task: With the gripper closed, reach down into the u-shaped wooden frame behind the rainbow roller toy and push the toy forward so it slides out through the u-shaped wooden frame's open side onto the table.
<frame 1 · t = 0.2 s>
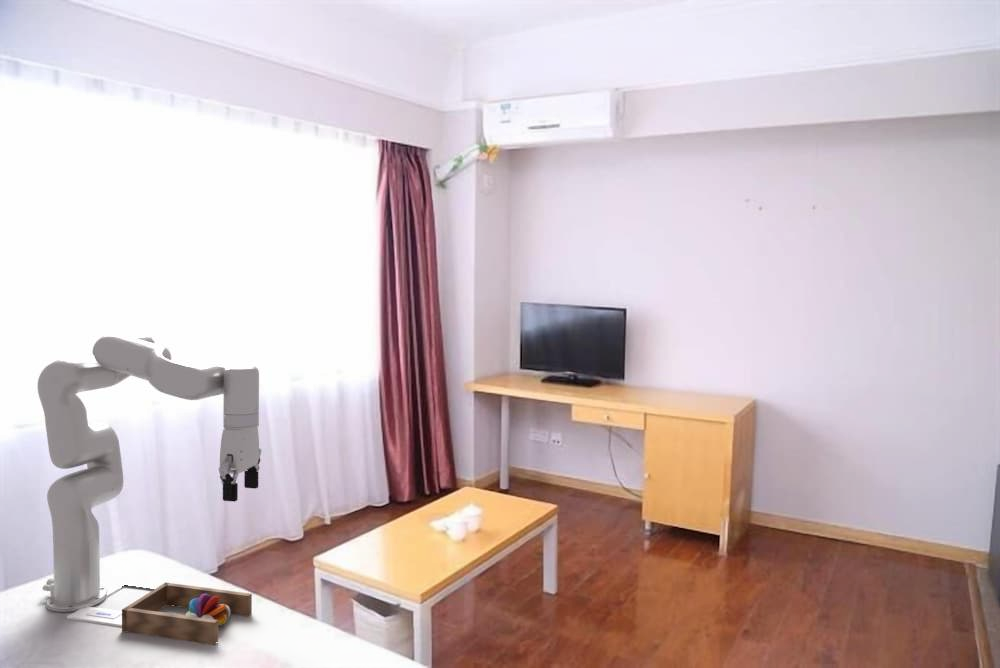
hand: (241, 494, 154), 31 cm above the table, fingers open, 9 cm apart
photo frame: (123, 607, 164), on the table
u-shaped wooden frame: (191, 622, 156), on the table
rainbow roller toy: (206, 626, 156), on the table
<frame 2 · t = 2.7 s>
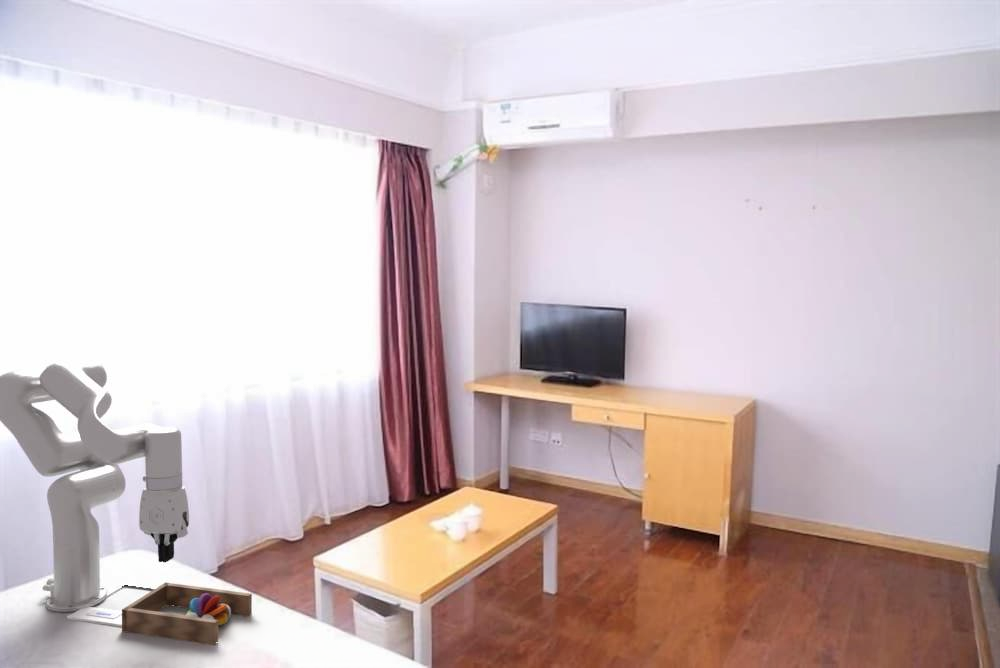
hand: (166, 559, 156), 14 cm above the table, fingers closed
nothing on the table moved.
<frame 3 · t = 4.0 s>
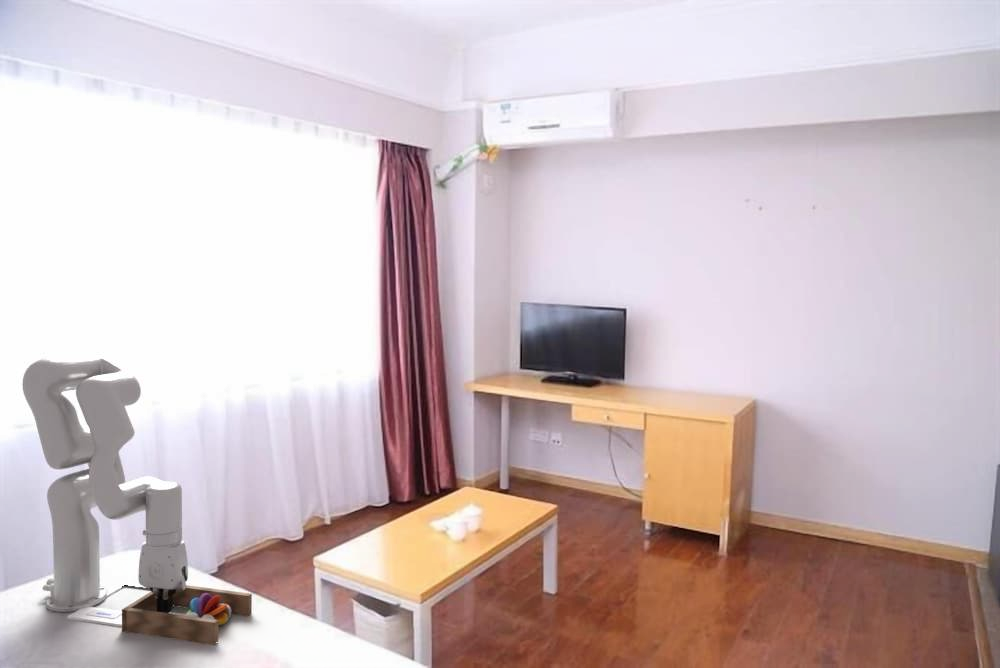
hand: (164, 613, 158), 1 cm above the table, fingers closed
nothing on the table moved.
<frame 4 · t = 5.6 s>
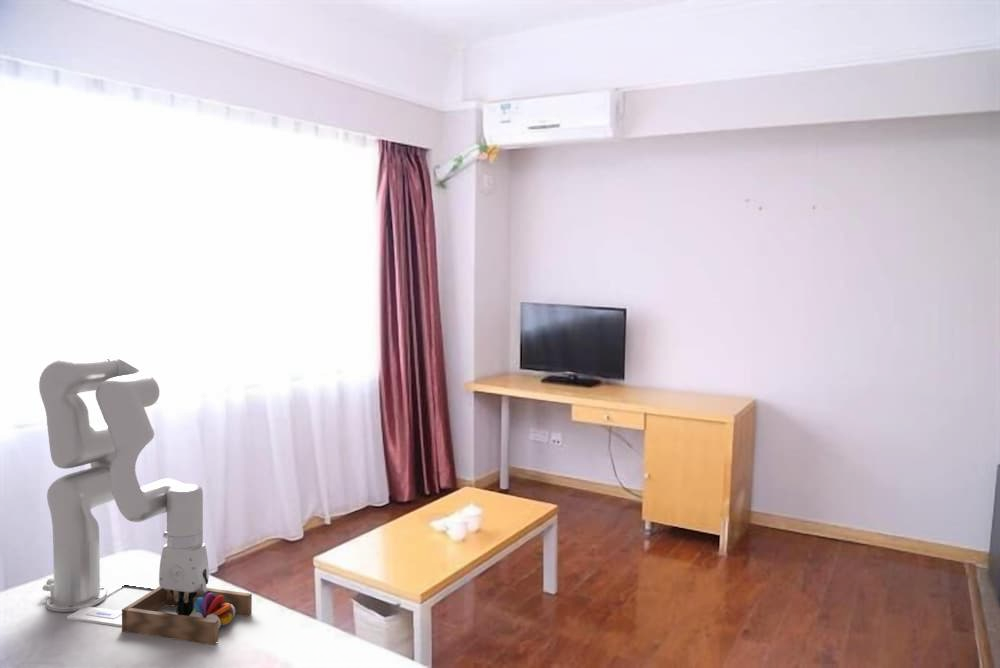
hand: (185, 616, 157), 1 cm above the table, fingers closed
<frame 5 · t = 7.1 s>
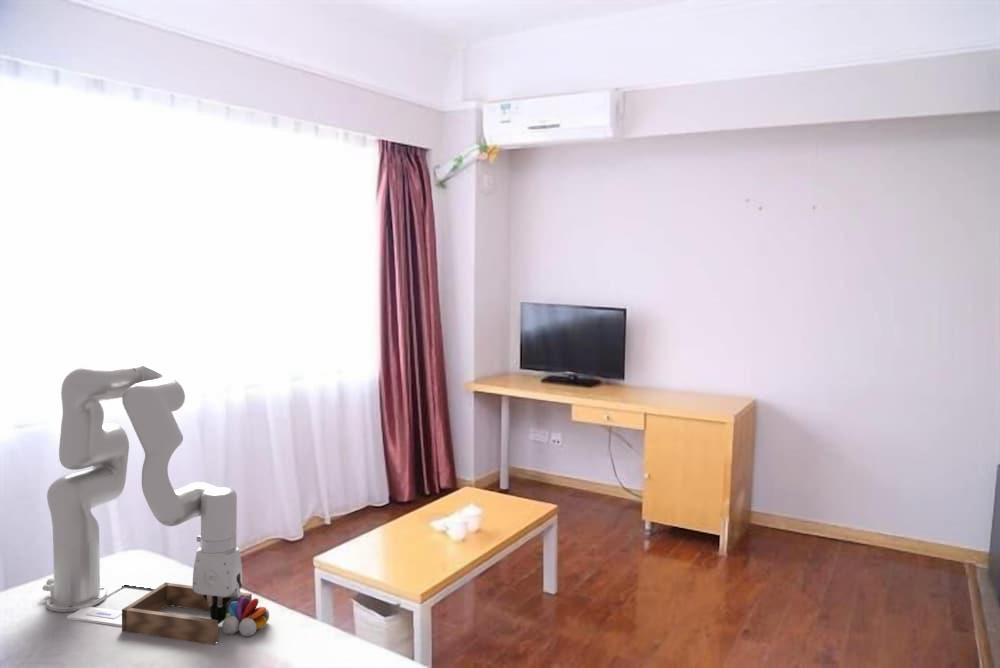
hand: (218, 621, 155), 1 cm above the table, fingers closed
rainbow roller toy: (245, 629, 154), on the table, touching gripper
everything else where it was.
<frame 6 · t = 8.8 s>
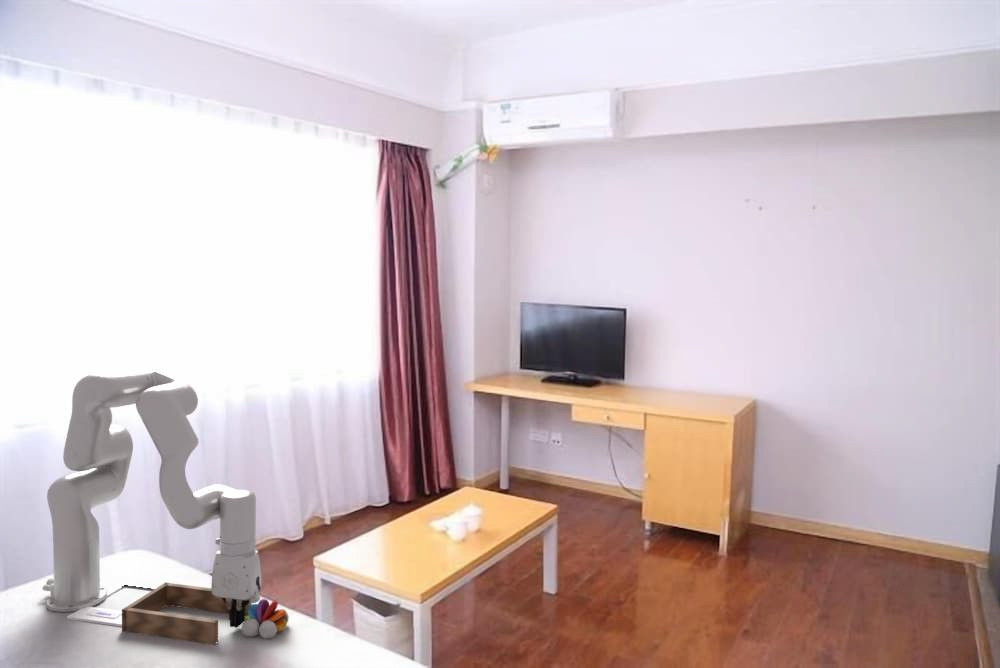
hand: (237, 624, 154), 1 cm above the table, fingers closed
rainbow roller toy: (265, 632, 154), on the table, touching gripper
everything else where it was.
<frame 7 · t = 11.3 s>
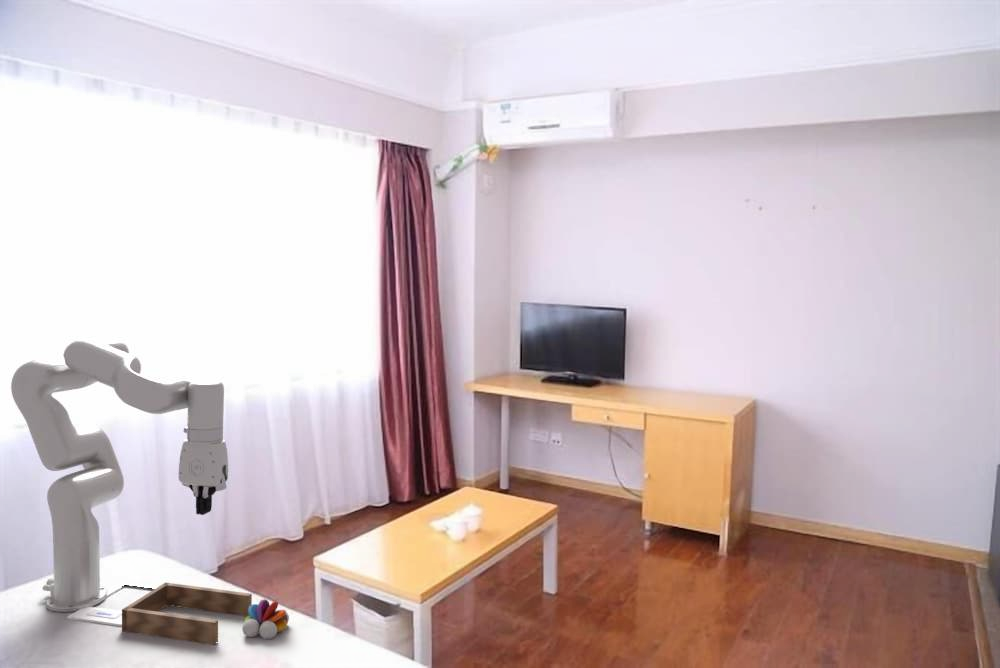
hand: (203, 512, 156), 26 cm above the table, fingers closed
rainbow roller toy: (265, 632, 154), on the table
everything else where it was.
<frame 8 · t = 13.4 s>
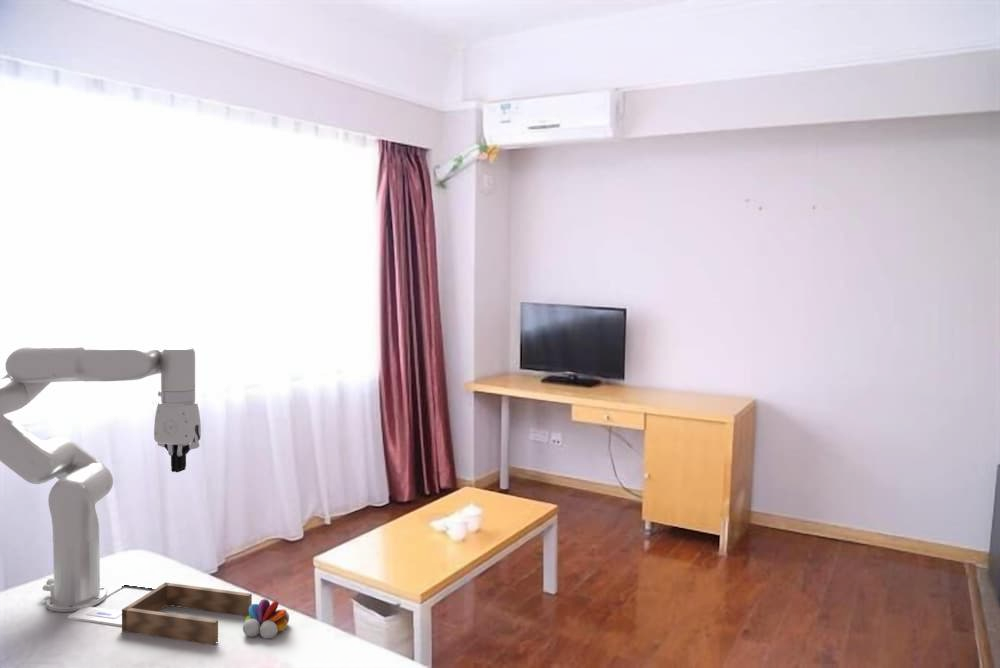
hand: (178, 470, 166), 32 cm above the table, fingers closed
nothing on the table moved.
at the end: rainbow roller toy inside the target area (8.1 cm from its centre), on the table; rainbow roller toy moved 14.4 cm from its start; rainbow roller toy touching table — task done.
